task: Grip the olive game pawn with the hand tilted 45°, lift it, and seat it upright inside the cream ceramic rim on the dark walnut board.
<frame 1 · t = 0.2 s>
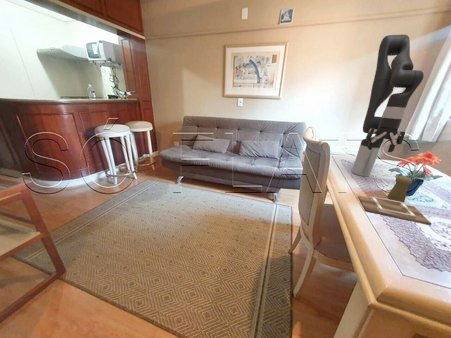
hand: (379, 150, 92), 18 cm above the table, tool pointing down, fingers open, 8 cm apart
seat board: (390, 209, 75), on the table
olive game pawn: (395, 199, 84), on the table
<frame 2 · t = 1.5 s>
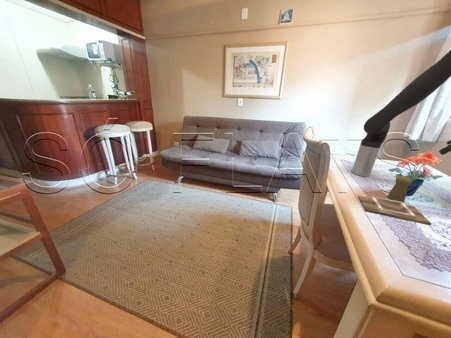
hand: (449, 156, 74), 22 cm above the table, tool tilted 45°, fingers open, 8 cm apart
nothing on the table moved.
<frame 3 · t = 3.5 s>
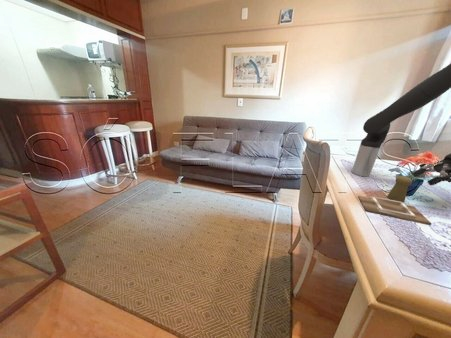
hand: (420, 179, 79), 11 cm above the table, tool tilted 45°, fingers open, 8 cm apart
nothing on the table moved.
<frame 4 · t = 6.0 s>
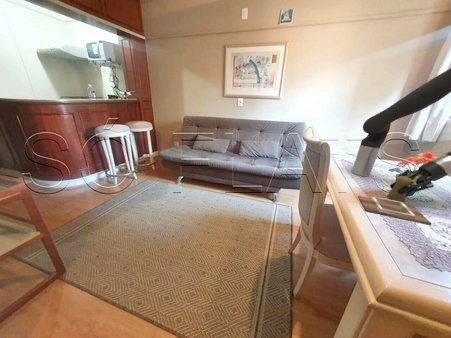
hand: (394, 189, 82), 5 cm above the table, tool tilted 45°, fingers closed on olive game pawn, 4 cm apart
olive game pawn: (395, 199, 84), on the table, touching gripper
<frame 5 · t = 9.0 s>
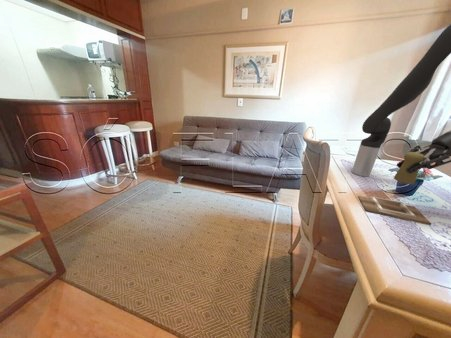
hand: (402, 168, 69), 18 cm above the table, tool tilted 45°, fingers closed on olive game pawn, 4 cm apart
olive game pawn: (403, 181, 70), point 13 cm above the table, touching gripper
when the fingers open (7 cm above the table, at t = 12.3 s): olive game pawn drops 1 cm, resting on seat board.
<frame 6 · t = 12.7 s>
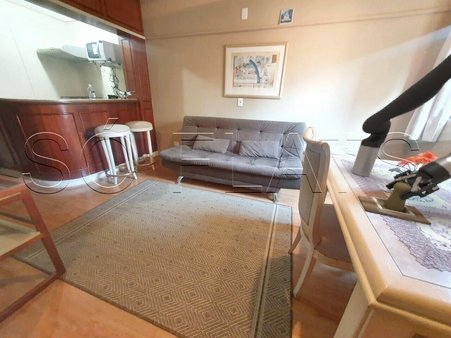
hand: (393, 192, 73), 8 cm above the table, tool tilted 45°, fingers open, 8 cm apart
olive game pawn: (392, 208, 75), point 1 cm above the table, touching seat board
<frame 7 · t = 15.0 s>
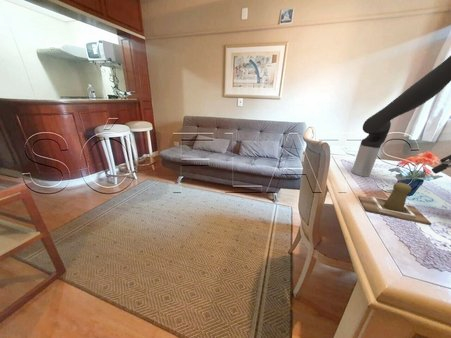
hand: (442, 176, 67), 17 cm above the table, tool tilted 45°, fingers open, 8 cm apart
nothing on the table moved.
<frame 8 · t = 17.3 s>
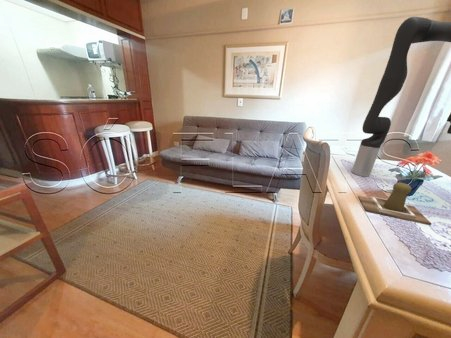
nothing on the table moved.
at the end: olive game pawn 0.7 cm off-centre on the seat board, point 0.6 cm above the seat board's base; olive game pawn tilted 0°; the gripper is holding nothing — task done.
